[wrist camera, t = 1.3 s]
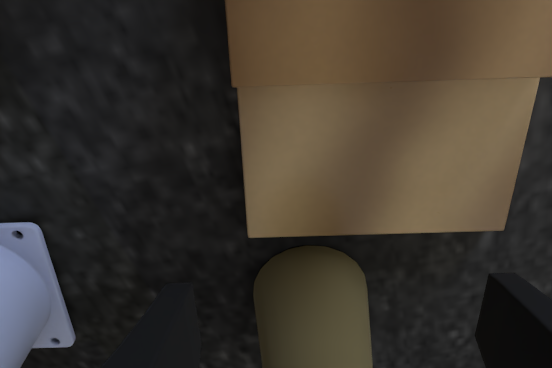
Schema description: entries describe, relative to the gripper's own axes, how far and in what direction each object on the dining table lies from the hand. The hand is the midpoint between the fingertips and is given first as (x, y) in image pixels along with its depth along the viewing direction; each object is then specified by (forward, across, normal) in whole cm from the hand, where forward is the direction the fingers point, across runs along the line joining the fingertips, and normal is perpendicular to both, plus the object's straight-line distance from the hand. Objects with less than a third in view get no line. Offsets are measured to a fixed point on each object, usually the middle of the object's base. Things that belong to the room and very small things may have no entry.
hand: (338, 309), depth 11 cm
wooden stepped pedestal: (+10, -3, -4) cm, 11 cm away
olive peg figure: (+11, 0, +8) cm, 14 cm away
